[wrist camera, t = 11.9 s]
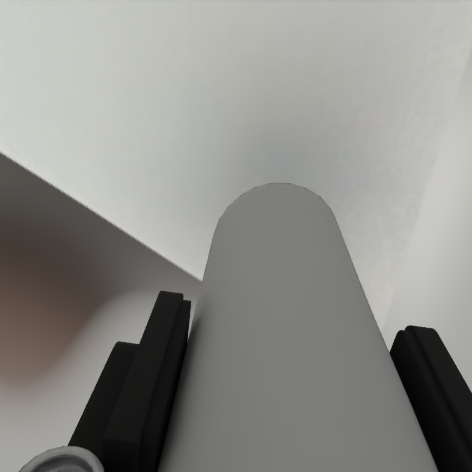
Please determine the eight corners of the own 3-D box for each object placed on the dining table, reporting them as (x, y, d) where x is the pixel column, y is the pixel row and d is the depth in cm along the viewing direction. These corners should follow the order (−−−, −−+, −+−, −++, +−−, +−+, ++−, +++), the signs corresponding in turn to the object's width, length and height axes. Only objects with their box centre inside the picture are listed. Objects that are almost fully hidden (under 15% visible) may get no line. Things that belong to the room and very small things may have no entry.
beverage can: (208, 279, 17) (118, 694, 6) (222, 167, 15) (123, 514, 4) (322, 296, 17) (422, 735, 7) (353, 187, 15) (579, 579, 4)
